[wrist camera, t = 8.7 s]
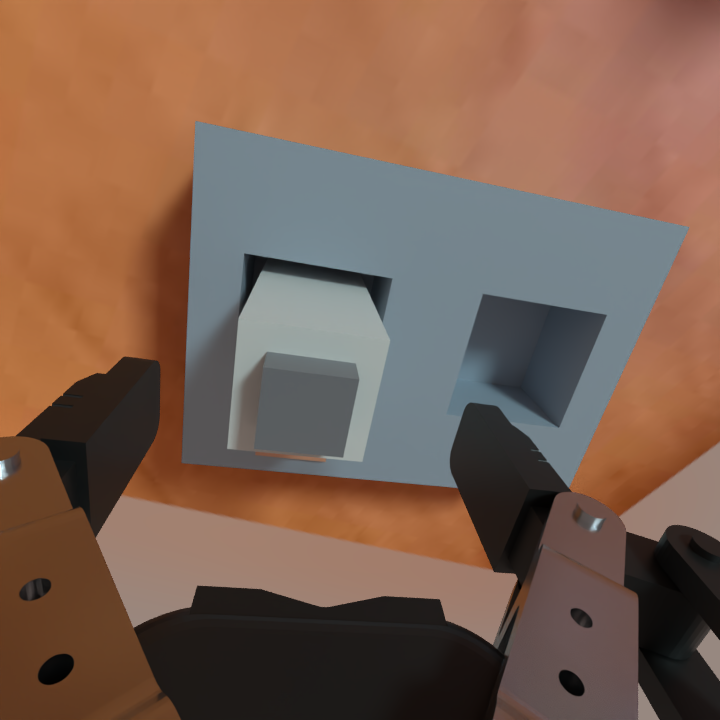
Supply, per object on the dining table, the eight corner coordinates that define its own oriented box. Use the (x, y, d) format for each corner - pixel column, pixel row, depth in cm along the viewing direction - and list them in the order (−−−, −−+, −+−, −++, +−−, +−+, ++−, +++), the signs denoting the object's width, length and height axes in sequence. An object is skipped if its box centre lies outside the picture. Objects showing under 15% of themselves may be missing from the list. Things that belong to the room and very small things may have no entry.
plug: (358, 269, 20) (396, 354, 11) (343, 349, 22) (366, 483, 12) (269, 254, 19) (232, 331, 10) (260, 338, 21) (220, 471, 12)
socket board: (608, 214, 21) (693, 227, 16) (520, 439, 26) (566, 500, 21) (225, 132, 18) (193, 120, 13) (207, 404, 23) (180, 465, 18)
